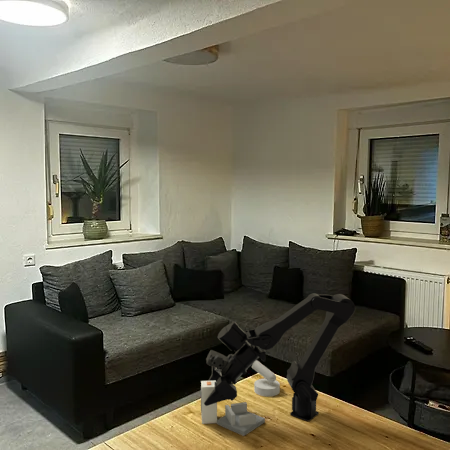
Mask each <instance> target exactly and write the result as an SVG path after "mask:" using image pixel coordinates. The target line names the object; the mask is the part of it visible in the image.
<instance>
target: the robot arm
mask: <svg viewBox="0 0 450 450" xmlns="http://www.w3.org/2000/svg"><path fill="white" fill-rule="evenodd" d="M317 310H318V311H319V310H320V311H324V312H325V318H324V320H323V323H321V325H320V327H319V330H318V331H317V332H316V334H315V336H314V338H313V340H312V342H311V343H310V345H309V347H308V348H307V350H306V351H305V353H304V355H303V357H302V359H300V360H298V362H297V361H296V360H292V362H291V364H290V366H289V368H288V369H287V370H286V372H287V374H286V380H287V383H288V385H289V386H290V388H291V390H292V391H293V393H292V395H293V396H292V398H291V412H289V414H290V416H291V417H295V418H297V419H300V420H303V421H306V422H310V421H311V420H313V419H314V418H315V417H317V416H318V415H319V411H318V410H317V399H318V398H319V393H318V392H317V390H316V389H315V387H314V386H313V381H314V378H315V373H316V372H315V371H316V368H317V366H318V365H319V363H320V361H321V359H322V358H323V356H324V354H325V353H326V351H327V350H328V347H329V345H330V344H331V342H332V341H333V338H334V337H335V335H336V333H337V332H338V330H339V328H341V327H342V326H343V325H344V324H346V323H348V321H349V320H350V319H351V318H352V316H353V315H354V314H355V311H356V305H355V303H354V301H353V300H352V299H350V298H348V297H347V296H346V295H344V294H342V293H337V294H334V295H332V294H331V295H330V294H319V293H314V292H313V293H310V294H308V296H307V297H306V298H304V299H303V300H301V301H300V302H299V303H297V304H296V305H294V306H293V307H292V308H290V309H289V310H288V311H286V312H285V313H283V314H282V315H281V316H279V317H278V318H276V319H273V320H270V321H267V322H264V323H263V324H260V325H258V326H257V327H256V328H253V329H247V330H243V329H242V328H241V327H240V326H239V325H238V323H237V322H236V321H235V320H234V321H232V322H231V323H228V324H227V325H226V326H224V327H223V328H222V329H221V330H220V331H219V332H218V334H217V339H218V340H219V341H220V342H221V343H222V344H224V345H225V347H227V348H228V349H229V350H230V351H231V352H233V351H234V352H235V353H234V354H233V353H230V354H228V355H227V356H226V355H224V354H222V353H220V352H218V351H215V350H213V349H210V351H208V354H207V357H206V358H205V361H206V365H208V366H209V367H211V375H210V376H209V379H208V380H207V381H214V380H216V382H215V388H214V390H213V391H212V393H211V394H210V395H209V397H208V398H207V399H206V401H205V402H204V404H205V405H206V406H208V405H211V404H214V403H217V404H218V403H220V402H222V401H227V400H228V401H232V402H233V401H234V400H236V398H237V397H238V390H237V387H236V384H238V381H237V380H238V379H239V378H240V377H241V376H242V375H244V376H245V375H246V374H247V373H248V372H247V370H248V369H249V368H250V367H252V365H253V363H254V362H255V361H256V360H257V361H258V359H261V361H262V362H266V361H267V359H266V354H267V352H266V351H269V350H271V349H273V347H275V346H276V345H277V344H278V343H279V342H280V341H281V340H282V338H283V336H284V335H285V334H286V333H287V331H289V330H290V329H292V328H293V327H295V326H296V325H298V324H299V323H301V322H302V321H303V320H304V319H306V318H307V317H309V316H310V315H312V314H313V313H314V312H316V311H317Z"/></svg>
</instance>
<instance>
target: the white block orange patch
mask: <svg viewBox="0 0 450 450" xmlns="http://www.w3.org/2000/svg"><path fill="white" fill-rule="evenodd" d="M215 382H216V380H214V381H208V380H200V383H201V384H200V385H201V386H200V413H201V414H200V416H201V424H202V425H203V424H204V425H205V424H217V420H218V402H217V403H214V404H211V405H208V406H206V405H205V404H204V402H205V401H206V399H207V398H208V397H209V395H210V394H211V393H212V391H213V390H214V388H215Z"/></svg>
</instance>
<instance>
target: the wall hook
mask: <svg viewBox="0 0 450 450" xmlns="http://www.w3.org/2000/svg"><path fill="white" fill-rule="evenodd" d="M251 368H252V370H254V371H255V372H256V373H258V374H259V375H260V376H262V377H263V378H259V379H256V380H255V381H254V383H253V387H254V388H253V390H254V393H255V394H256V395H259V396H261V397H275V396H277V395H279V394H280V392H281V391H280V390H281V389H280V388H281V384H280V382H279V381H278V380H277V375H276V374H275V373H274V372H273V371H271V370H270V369H269V368H268V367H267V366H265V365H264V364H262V363H261V362H260V361H259V360H258V359H257V360H256V361H255V362H254V363H253V364H252V365H251Z"/></svg>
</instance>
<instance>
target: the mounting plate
mask: <svg viewBox="0 0 450 450" xmlns="http://www.w3.org/2000/svg"><path fill="white" fill-rule="evenodd" d="M224 412H225V415H223V416H221V417H220V418H217V423H216V425H218V426H220V427H223V428H224V429H226V430H229V431H231V432H234V433H236V434H239V435H240V436H242V437H244V436H246V435H247V434H249V433H251V432H252V431H253V430H255V429H257V428H259V427H260V426H261V425H263V424H264V423H266V418H265V417H262V416H260V415H257V414H256V413H253V412H250V411H248V403H247V402H246V401H243V402H235V403H231V404H230V405H229V404H225V405H224Z"/></svg>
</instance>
